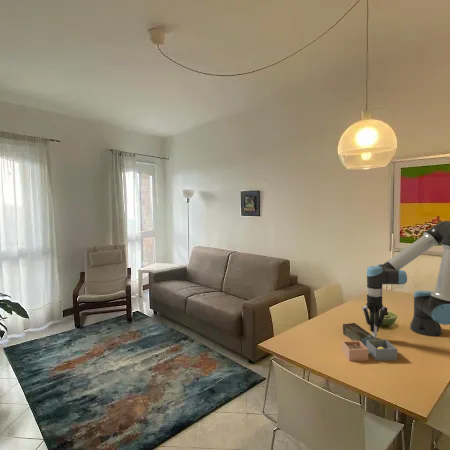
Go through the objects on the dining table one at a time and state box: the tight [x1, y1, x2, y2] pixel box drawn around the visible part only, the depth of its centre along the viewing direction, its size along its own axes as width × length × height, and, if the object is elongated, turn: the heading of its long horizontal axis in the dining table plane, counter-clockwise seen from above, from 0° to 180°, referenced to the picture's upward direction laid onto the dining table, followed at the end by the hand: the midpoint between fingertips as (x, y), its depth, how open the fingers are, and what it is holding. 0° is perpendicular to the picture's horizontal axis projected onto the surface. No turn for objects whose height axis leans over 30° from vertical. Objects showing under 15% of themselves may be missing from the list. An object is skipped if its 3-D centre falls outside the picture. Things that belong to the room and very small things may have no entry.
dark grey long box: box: [342, 322, 376, 346], centre depth 166 cm, size 8×19×7 cm, turn 7°
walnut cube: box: [348, 344, 362, 349], centre depth 148 cm, size 4×4×4 cm
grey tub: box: [366, 339, 398, 362], centre depth 148 cm, size 10×10×6 cm
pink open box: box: [341, 340, 369, 362], centre depth 148 cm, size 9×9×6 cm
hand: (374, 337), depth 166 cm, fingers closed
